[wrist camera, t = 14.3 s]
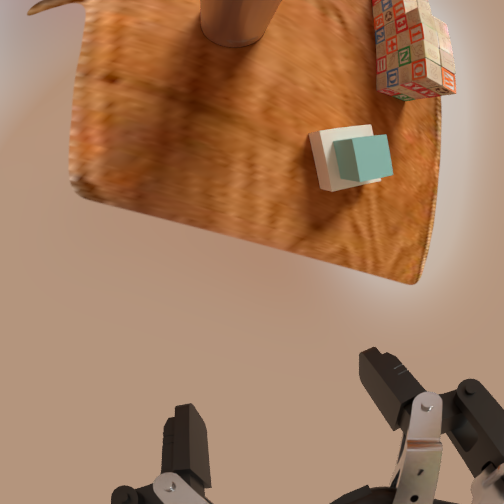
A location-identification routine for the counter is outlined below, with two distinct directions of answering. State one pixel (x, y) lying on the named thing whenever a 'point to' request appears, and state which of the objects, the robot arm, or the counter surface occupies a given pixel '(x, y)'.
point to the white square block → (334, 156)
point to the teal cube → (363, 158)
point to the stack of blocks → (412, 51)
